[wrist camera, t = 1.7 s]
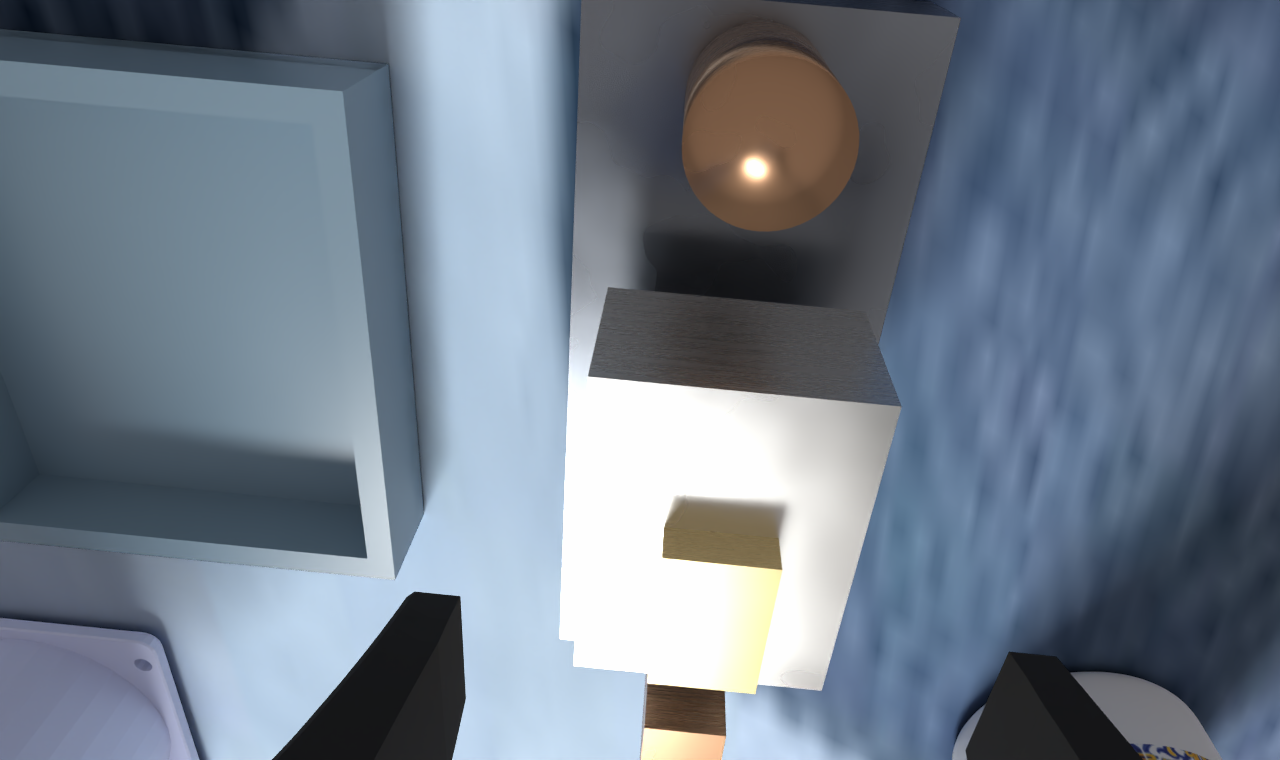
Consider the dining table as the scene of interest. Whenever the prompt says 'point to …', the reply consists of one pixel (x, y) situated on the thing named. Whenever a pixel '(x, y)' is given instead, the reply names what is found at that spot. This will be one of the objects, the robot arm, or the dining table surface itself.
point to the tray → (203, 307)
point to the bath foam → (1134, 718)
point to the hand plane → (740, 193)
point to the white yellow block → (726, 487)
